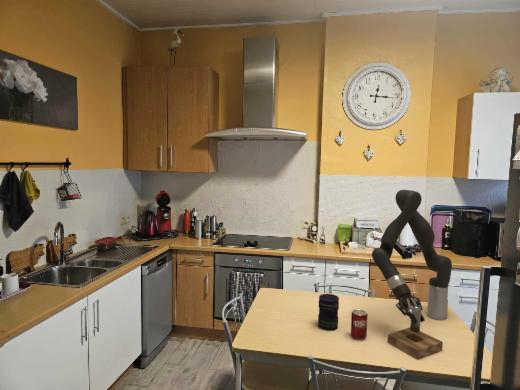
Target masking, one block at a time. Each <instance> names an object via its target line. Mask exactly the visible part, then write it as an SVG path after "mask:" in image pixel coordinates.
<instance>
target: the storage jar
mask: <svg viewBox="0 0 520 390" xmlns="http://www.w3.org/2000/svg"><path fill="white" fill-rule="evenodd" d="M339 300H340V298H339V296H338V295H336V294H332V293H321V294H319V295H318V315H317V321H318V322H317V323H318V325H317V327H318V328H319V329H320V330H322V331H326V332H333V331H336V330H338V328H339V309H340V306H339V305H340V301H339Z"/></svg>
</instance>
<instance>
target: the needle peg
mask: <svg viewBox="0 0 520 390" xmlns="http://www.w3.org/2000/svg"><path fill="white" fill-rule="evenodd" d="M411 308H412V309H411V310H412V313H413V314H414V316H415V318H416V319H417V321H418V323H416V324H413V323H412V321H411V320H410V326H409V328H410V330H411V331H413V332H420V331H421V323H422V322H421V314H422V311H421V306H419V305H412V307H411Z"/></svg>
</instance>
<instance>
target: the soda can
mask: <svg viewBox="0 0 520 390" xmlns="http://www.w3.org/2000/svg"><path fill="white" fill-rule="evenodd" d="M350 316H351V321H350V337H351V338H352V339H354V340H357V341H364V340H365V339H367V337H368V335H367V334H368V319H369V318H368V316H369V315H368V313H367V311H365V310H363V309H359V308H357V309H353V310H352V311H351V315H350Z"/></svg>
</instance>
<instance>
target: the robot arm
mask: <svg viewBox="0 0 520 390" xmlns="http://www.w3.org/2000/svg"><path fill="white" fill-rule="evenodd" d="M395 204H396V205H397V207H398V208H399V210H400V213H399V215H398V216H397V217H396V218H394V219H393V220H392V221H391V222H390V223H389V224H388V225H387V226H386V227H385V230H384V232H383V234H382V236H381V239H380V245H379V247H377V248H376V247H375V248H374V249H373V250H372V252H371V258H372V260H373V261H374V263H375V265H376V266H377V268H378V269H379V270H380V272H381V273H382V276H383V277H384V279H385V281H386V283H387V286H388V287H389V289H390V292H392V295H393V296H394V297H395V300H398V302H396V303H395V307H396V308H397V309H398V311H400V312H401V314H402V315H403V316H408V318H409V319H410V322H411V321H412V323H413V324H416V323H418V321H417V319H416V318H415V316H414V314H413V313H412V310H411V309H412V308H411V307H412V305H419V306H421V312H422V311H423V309H424V308H423V306H422V303H421V300H420V298H419V297H414V296H413V295H412V291H411V289H410V287H409V286H408V284H407V282H406V281H405V279H404V278H403V276H402V275H401V273H400V272H399V270H398V268H397V267H396V266H395V265H394V264H393V262H392V260H391V258H392V255H393V251H394V248H395V245H396V244H397V241H398V239H399V238H400V235H401V234H402V232H403V230H404V229H405V227H406V225H407V224H408V226H409V228H410V229H411V232H412V234H413V236H414V238H415V240H416V243H417V244H418V246H419V249H420V250H421V253H422V256H423V259H424V261H425V265H426V266H427V267H428V269H429V270H430V271H432V272H435V273H437V274H436V277H435V276H433V277H430V278H429V281H428V292H427V295H428V297H427V307H426V308H427V311H426V314H427V317H428V318H431V319H433V320H439V321H440V320H441V321H444V320H447V317H448V307H449V299H448V295H449V294H448V293H449V284H450V282H451V277H452V276H451V275H452V270H453V269H452V268H453V267H452V266H453V264H452V260H451V258H449V257H447V256H444V255H440V254H438V252H437V251H436V249H435V248H434V243H435V239H436V237H435V232H434V230H433V228H432V226H431V224H430V223H429V222H428V220H427V219H426V218H425V217H424V216H423V215H421V213H420V212H419V211H418V209H419V207H420V206H421V204H422V195H421V193H420V192H419V191H415V190H411V189H400V190H398V191H397V192H396V194H395ZM423 322H425V317H424V315H423V314H422V313H421V322H420V323H423Z"/></svg>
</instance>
